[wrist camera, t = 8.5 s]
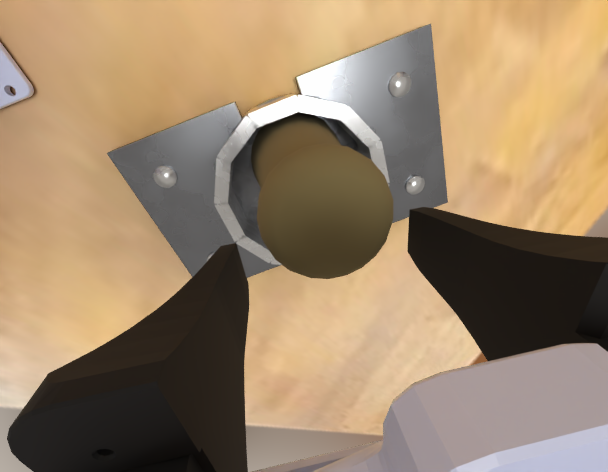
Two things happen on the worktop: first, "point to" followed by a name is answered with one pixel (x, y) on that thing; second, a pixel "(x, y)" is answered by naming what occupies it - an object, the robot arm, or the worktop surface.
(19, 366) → the worktop surface
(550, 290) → the robot arm
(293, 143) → the olive brown pawn
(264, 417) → the worktop surface
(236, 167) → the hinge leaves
